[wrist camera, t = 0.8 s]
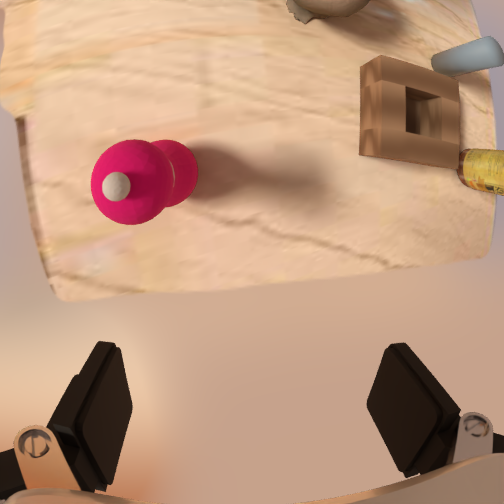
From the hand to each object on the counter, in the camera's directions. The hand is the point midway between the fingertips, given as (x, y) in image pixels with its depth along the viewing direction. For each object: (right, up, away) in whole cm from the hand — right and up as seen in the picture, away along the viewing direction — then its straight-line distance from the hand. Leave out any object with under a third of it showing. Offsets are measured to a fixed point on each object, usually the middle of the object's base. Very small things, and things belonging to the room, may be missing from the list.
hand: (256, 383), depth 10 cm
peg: (+28, +32, +23) cm, 48 cm away
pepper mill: (-10, +14, +25) cm, 31 cm away
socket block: (+20, +22, +25) cm, 39 cm away
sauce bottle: (+33, +17, +28) cm, 47 cm away
